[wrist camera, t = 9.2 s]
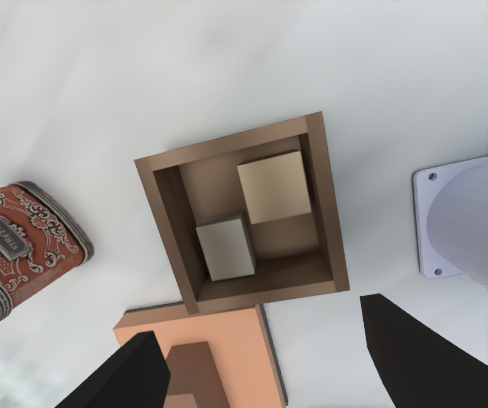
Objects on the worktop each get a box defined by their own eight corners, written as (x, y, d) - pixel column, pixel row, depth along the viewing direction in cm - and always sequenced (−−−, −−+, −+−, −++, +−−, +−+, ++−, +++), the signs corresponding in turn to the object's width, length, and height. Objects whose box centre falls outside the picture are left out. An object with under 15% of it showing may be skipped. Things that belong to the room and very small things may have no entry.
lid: (255, 292, 19) (251, 355, 14) (285, 402, 22) (291, 491, 17) (125, 313, 21) (74, 376, 16) (167, 412, 24) (137, 497, 18)
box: (306, 118, 16) (321, 111, 12) (330, 254, 18) (350, 290, 14) (166, 154, 17) (133, 160, 13) (205, 276, 20) (188, 314, 16)
